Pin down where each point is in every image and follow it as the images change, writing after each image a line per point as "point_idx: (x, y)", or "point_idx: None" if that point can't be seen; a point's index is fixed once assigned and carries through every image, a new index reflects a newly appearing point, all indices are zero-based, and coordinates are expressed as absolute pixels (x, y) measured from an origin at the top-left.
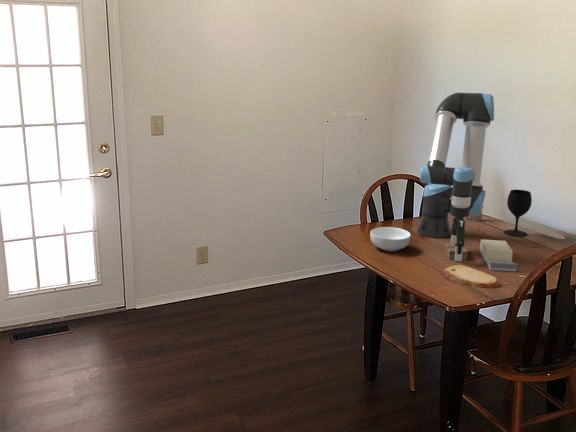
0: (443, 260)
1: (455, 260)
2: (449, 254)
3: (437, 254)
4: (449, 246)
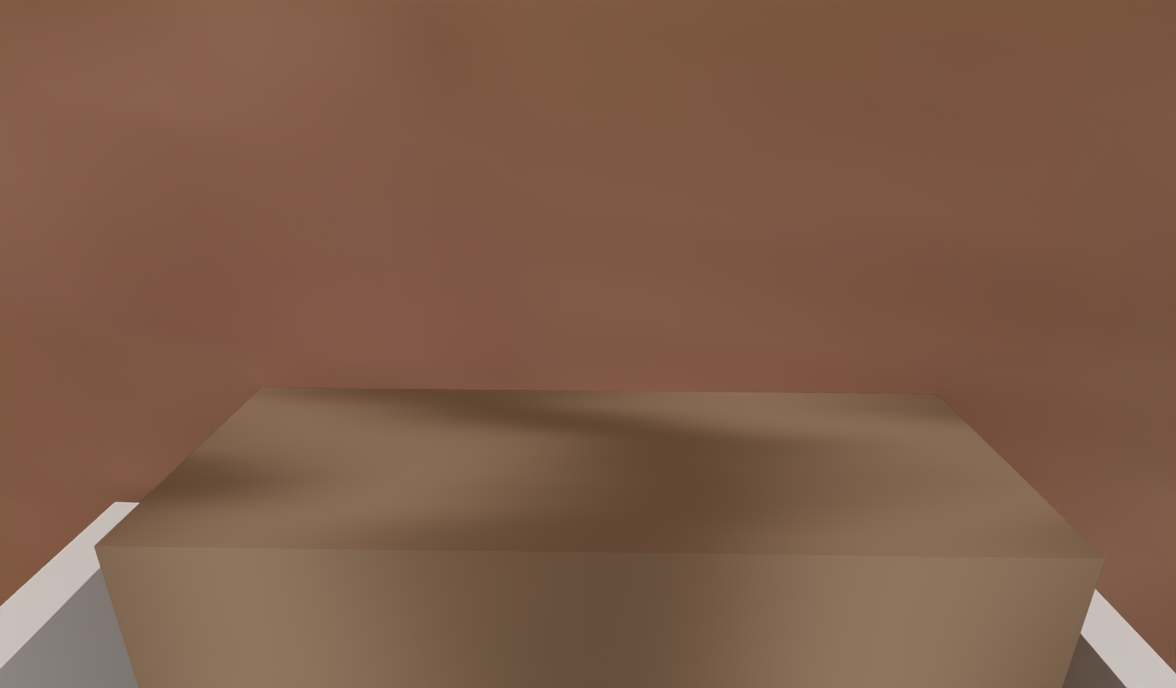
0: (106, 223)
1: (107, 525)
2: (183, 462)
3: (640, 115)
4: (654, 610)
